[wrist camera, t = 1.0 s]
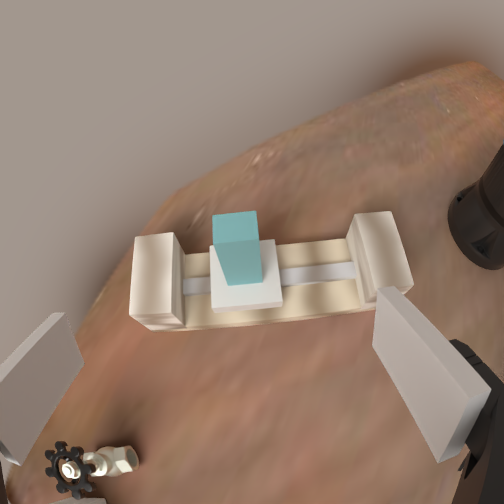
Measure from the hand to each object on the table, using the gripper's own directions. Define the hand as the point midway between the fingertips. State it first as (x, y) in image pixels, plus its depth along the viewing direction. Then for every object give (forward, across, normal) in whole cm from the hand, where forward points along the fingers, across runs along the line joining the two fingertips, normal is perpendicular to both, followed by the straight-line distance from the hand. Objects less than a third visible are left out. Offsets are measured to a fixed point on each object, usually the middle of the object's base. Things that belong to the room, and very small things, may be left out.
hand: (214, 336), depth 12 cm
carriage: (+26, 0, -9) cm, 28 cm away
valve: (+12, -18, -27) cm, 35 cm away
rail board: (+28, +3, -10) cm, 30 cm away
